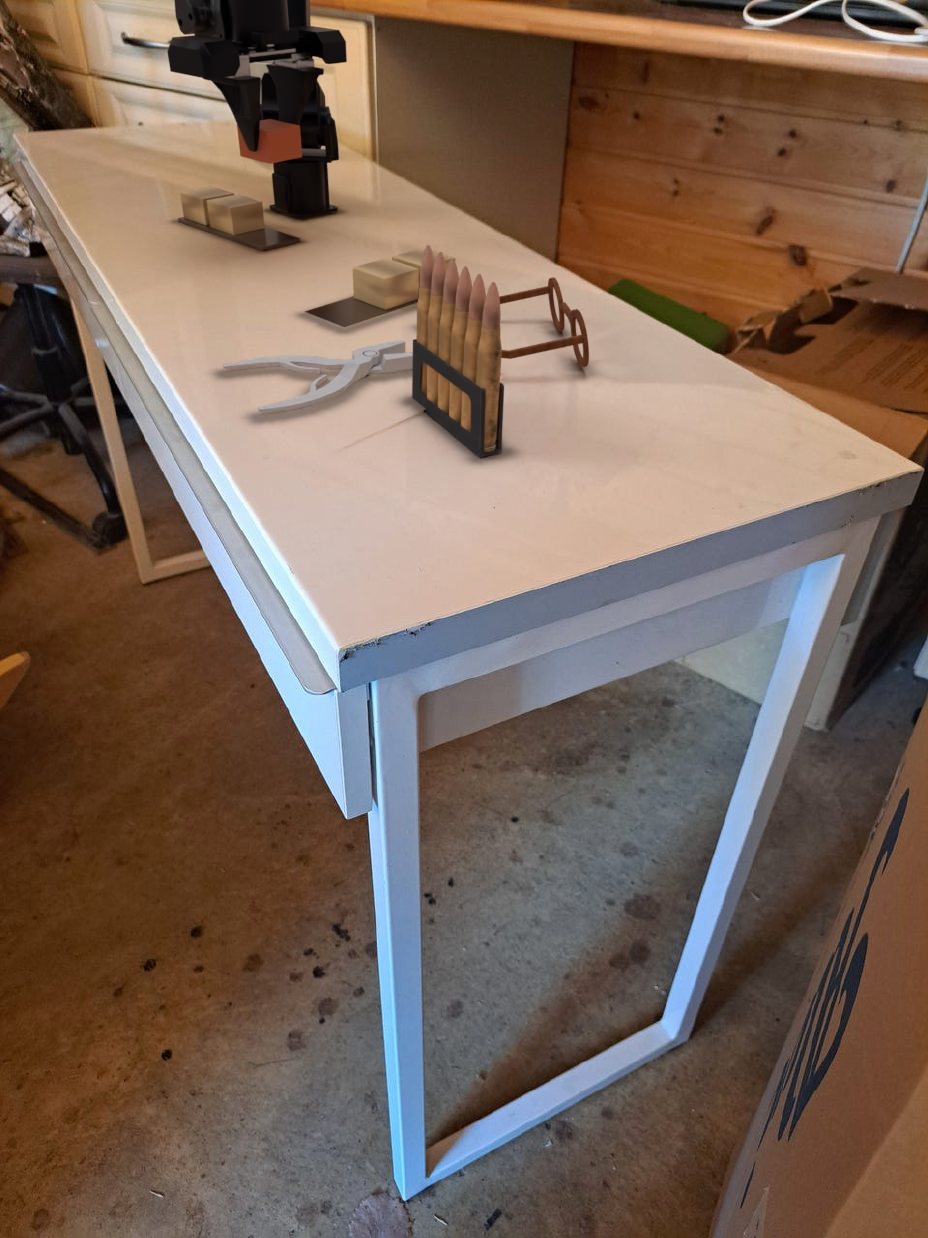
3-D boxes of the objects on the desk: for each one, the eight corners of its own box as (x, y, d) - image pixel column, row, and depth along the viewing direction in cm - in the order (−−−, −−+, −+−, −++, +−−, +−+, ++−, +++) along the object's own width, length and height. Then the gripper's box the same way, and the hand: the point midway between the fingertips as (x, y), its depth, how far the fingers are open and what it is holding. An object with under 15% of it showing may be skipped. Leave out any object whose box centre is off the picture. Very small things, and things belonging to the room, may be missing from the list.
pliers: (220, 353, 72) (386, 327, 78) (223, 371, 73) (387, 344, 79) (259, 400, 65) (437, 367, 71) (262, 419, 66) (437, 385, 72)
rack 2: (422, 278, 94) (422, 245, 92) (461, 291, 91) (462, 257, 89) (304, 315, 84) (301, 279, 82) (344, 330, 81) (342, 293, 79)
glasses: (590, 379, 74) (597, 320, 71) (438, 383, 73) (439, 323, 69) (554, 323, 85) (559, 270, 81) (419, 326, 83) (420, 271, 80)
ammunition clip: (411, 400, 70) (410, 243, 62) (431, 396, 71) (433, 240, 63) (480, 458, 63) (488, 288, 55) (502, 452, 63) (513, 284, 56)
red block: (302, 156, 93) (300, 125, 91) (269, 163, 90) (266, 131, 89) (273, 149, 95) (270, 118, 94) (240, 156, 93) (236, 124, 91)
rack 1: (178, 221, 108) (173, 191, 106) (216, 213, 111) (212, 184, 109) (262, 250, 99) (259, 219, 97) (300, 241, 103) (298, 210, 101)
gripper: (270, -44, 92) (284, 123, 102) (116, -42, 80) (149, 147, 90) (346, -37, 87) (353, 139, 97) (194, -33, 75) (219, 166, 85)
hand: (270, 147), depth 92 cm, fingers closed on red block, 4 cm apart
